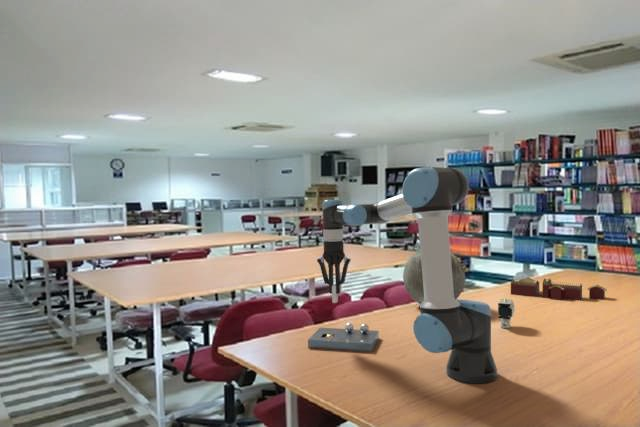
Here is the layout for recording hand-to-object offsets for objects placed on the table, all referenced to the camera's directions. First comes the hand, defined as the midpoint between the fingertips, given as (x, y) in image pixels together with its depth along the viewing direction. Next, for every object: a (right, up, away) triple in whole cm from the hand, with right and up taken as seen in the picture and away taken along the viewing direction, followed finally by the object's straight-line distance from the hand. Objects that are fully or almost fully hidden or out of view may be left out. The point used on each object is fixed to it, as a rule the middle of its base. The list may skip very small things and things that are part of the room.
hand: (335, 302), depth 184 cm
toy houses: (+123, -11, +77) cm, 145 cm away
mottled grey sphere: (+51, -13, +58) cm, 78 cm away
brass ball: (-2, -15, +2) cm, 15 cm away
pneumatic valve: (+73, -14, +18) cm, 76 cm away
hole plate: (+4, -16, +2) cm, 17 cm away
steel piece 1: (+6, -11, +6) cm, 14 cm away
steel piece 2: (+12, -11, +5) cm, 17 cm away
